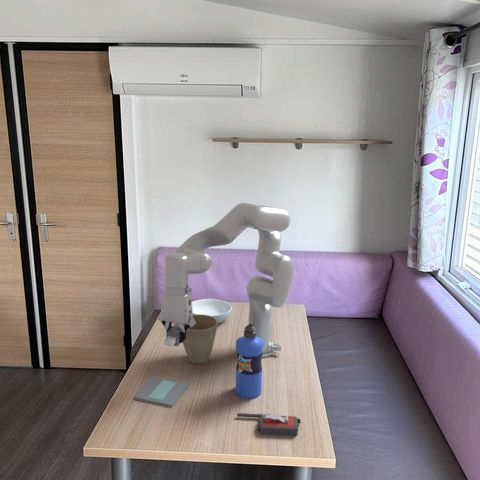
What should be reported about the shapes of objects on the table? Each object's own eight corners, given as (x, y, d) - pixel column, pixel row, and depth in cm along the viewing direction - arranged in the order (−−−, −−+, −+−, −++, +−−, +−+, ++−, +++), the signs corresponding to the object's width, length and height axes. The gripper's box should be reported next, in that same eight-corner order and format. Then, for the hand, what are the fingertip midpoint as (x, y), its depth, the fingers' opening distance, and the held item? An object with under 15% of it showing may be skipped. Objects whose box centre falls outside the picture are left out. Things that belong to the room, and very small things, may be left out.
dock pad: (189, 384, 165) (189, 382, 165) (172, 407, 152) (172, 404, 152) (153, 377, 169) (153, 375, 169) (134, 399, 156) (134, 396, 156)
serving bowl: (230, 330, 209) (231, 316, 207) (184, 329, 209) (184, 315, 207) (232, 311, 229) (232, 298, 227) (189, 310, 229) (189, 297, 227)
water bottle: (253, 402, 156) (255, 333, 149) (229, 393, 160) (231, 326, 154) (266, 389, 163) (269, 323, 157) (244, 381, 168) (245, 317, 162)
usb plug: (175, 335, 163) (175, 324, 162) (185, 337, 162) (185, 326, 161) (162, 348, 154) (162, 335, 153) (173, 350, 153) (173, 337, 152)
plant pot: (213, 348, 191) (214, 312, 187) (220, 367, 177) (220, 328, 173) (177, 351, 188) (177, 315, 184) (180, 370, 174) (180, 331, 170)
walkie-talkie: (299, 419, 148) (237, 416, 149) (300, 407, 147) (237, 404, 148) (301, 437, 139) (235, 434, 140) (302, 425, 138) (235, 421, 139)
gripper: (204, 289, 156) (203, 339, 160) (158, 283, 161) (159, 331, 165) (195, 296, 149) (194, 349, 153) (148, 289, 154) (149, 340, 158)
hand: (176, 339), depth 159 cm, fingers closed on usb plug, 4 cm apart
